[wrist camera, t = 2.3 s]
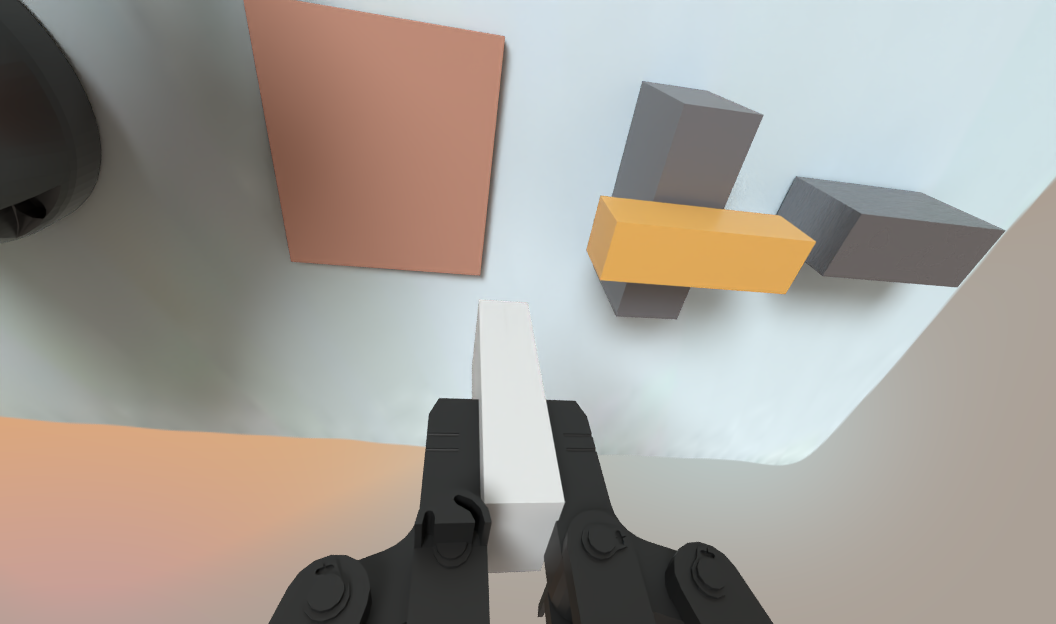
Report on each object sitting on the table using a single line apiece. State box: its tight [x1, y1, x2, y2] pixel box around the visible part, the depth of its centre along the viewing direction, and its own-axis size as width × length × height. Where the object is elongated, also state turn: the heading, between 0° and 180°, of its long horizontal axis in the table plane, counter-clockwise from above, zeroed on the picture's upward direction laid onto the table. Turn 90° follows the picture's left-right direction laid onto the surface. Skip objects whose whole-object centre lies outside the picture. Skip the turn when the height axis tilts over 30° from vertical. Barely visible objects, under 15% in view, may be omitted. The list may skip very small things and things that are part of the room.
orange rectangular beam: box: [587, 196, 816, 294], centre depth 22 cm, size 10×3×3 cm, turn 81°
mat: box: [244, 0, 505, 275], centre depth 25 cm, size 12×14×1 cm
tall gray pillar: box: [595, 81, 763, 319], centre depth 26 cm, size 4×12×6 cm, turn 172°
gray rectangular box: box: [777, 176, 1006, 287], centre depth 28 cm, size 10×4×6 cm, turn 81°
